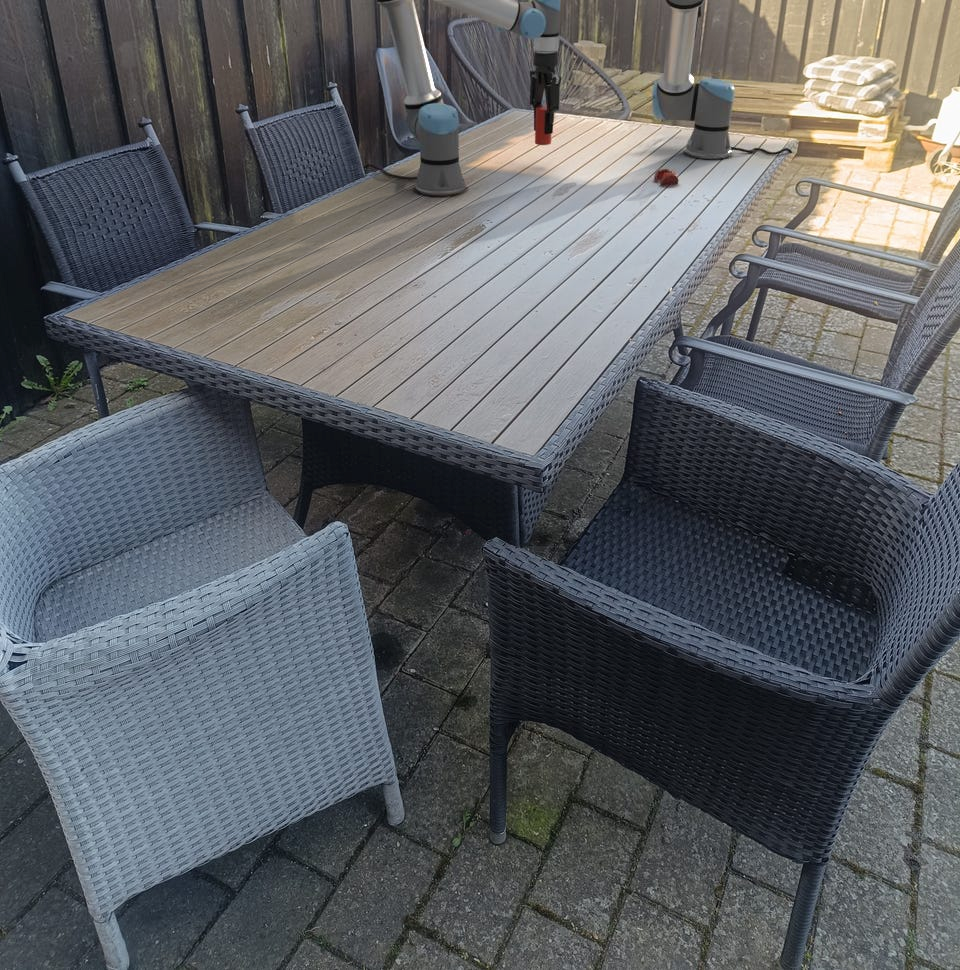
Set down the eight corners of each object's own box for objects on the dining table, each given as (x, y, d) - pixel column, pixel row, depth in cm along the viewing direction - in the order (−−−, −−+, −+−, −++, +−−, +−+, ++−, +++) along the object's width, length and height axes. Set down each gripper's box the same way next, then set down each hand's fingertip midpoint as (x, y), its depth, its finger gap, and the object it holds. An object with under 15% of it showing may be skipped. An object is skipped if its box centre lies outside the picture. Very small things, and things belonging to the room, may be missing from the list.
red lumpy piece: (669, 164, 265) (680, 172, 259) (668, 178, 267) (679, 185, 261) (653, 166, 264) (664, 174, 258) (652, 180, 266) (662, 188, 260)
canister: (552, 144, 271) (554, 109, 265) (536, 145, 270) (538, 110, 264) (548, 140, 275) (550, 106, 269) (533, 141, 274) (534, 106, 268)
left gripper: (573, 54, 252) (569, 136, 266) (538, 46, 265) (536, 124, 279) (553, 56, 249) (550, 139, 263) (519, 48, 262) (517, 127, 275)
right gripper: (672, -36, 298) (665, 31, 310) (694, -30, 277) (685, 42, 290) (693, -36, 298) (684, 31, 311) (716, -30, 278) (706, 42, 290)
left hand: (543, 131), depth 271 cm, fingers closed on canister, 5 cm apart
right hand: (685, 36), depth 300 cm, fingers open, 13 cm apart
